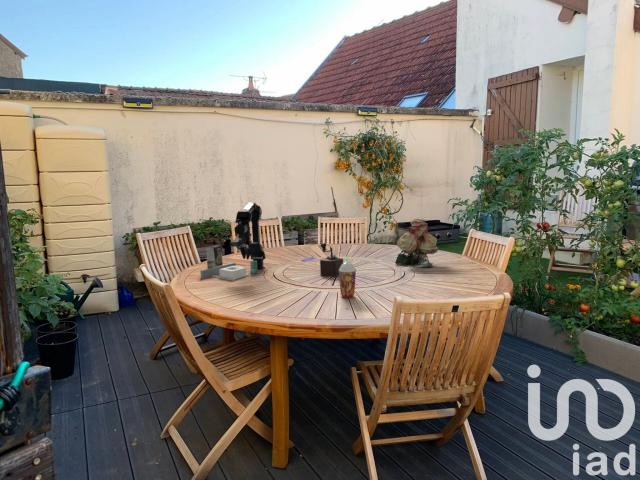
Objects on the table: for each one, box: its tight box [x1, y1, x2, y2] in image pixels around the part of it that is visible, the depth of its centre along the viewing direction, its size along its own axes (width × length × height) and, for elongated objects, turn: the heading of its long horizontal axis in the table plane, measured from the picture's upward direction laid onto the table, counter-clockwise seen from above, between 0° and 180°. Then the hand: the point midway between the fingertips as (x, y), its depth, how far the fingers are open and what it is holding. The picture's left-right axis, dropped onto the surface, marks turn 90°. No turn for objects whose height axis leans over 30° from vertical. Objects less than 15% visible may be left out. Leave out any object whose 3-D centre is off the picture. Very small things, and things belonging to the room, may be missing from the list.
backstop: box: [200, 262, 251, 282], centre depth 262 cm, size 26×21×5 cm
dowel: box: [249, 260, 258, 276], centre depth 266 cm, size 4×4×8 cm
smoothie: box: [338, 256, 357, 299], centre depth 214 cm, size 8×8×20 cm
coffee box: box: [205, 244, 224, 269], centre depth 276 cm, size 9×6×16 cm
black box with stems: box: [319, 242, 344, 278], centre depth 263 cm, size 16×11×18 cm
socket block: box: [219, 265, 247, 280], centre depth 260 cm, size 11×11×5 cm
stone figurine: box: [395, 218, 439, 269], centre depth 285 cm, size 26×29×30 cm
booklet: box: [301, 257, 318, 262], centre depth 303 cm, size 12×25×1 cm, turn 53°
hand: (245, 259), depth 252 cm, fingers open, 2 cm apart
